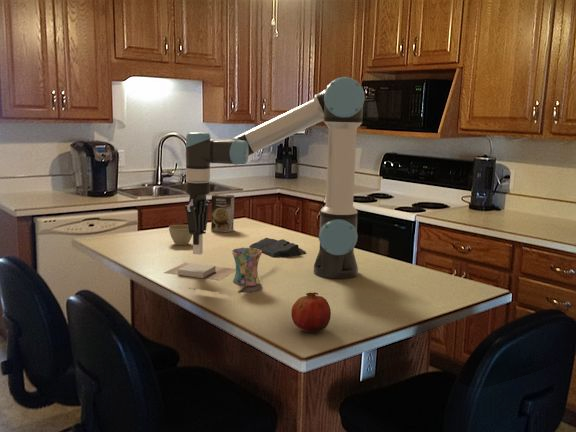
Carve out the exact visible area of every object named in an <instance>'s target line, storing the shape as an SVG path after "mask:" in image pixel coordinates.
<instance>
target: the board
mask: <svg viewBox="0 0 576 432" xmlns="http://www.w3.org/2000/svg"><path fill="white" fill-rule="evenodd" d="M190 263H191V262H182V263H181V264H179V265H177V266H175V267H173V268H170V269H169V270H166V271H164V272H163V274H170V275H176V276H178V269H179V268H182V267H184V266H186V265H188V264H190ZM235 272H236V268H230V267H222V266H216V271H215V272H213V273H211V274H209V275H208V276H206V277H204V278H203V279H207V280H215V281H220V280H222V279H224V278H226V277H228V276H229V275H231V274H233V273H235Z"/></svg>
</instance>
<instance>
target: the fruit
mask: <svg viewBox="0 0 576 432" xmlns="http://www.w3.org/2000/svg"><path fill="white" fill-rule="evenodd" d="M331 311H332V310H331V308H330V304H329V302H328V301H327V299H326V298H325V297H323V296H320V295H319V293H318V292H306V293H305V295H304V296H301V297H299V298H298V299H297V300H296V301H295V302H294V304H293V305H292V307H291V319H292V322H293V324H294V325H295V326H296V327H297V328H299V329H300V330H303V331H304V332H306V333H317V332H321V331H323V330H325V329H326V328H327V327H328V325H329V324H330V321H331V317H332V316H331V315H332V312H331Z"/></svg>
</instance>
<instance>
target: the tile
mask: <svg viewBox="0 0 576 432" xmlns="http://www.w3.org/2000/svg"><path fill="white" fill-rule="evenodd" d="M189 263H190V264H188V265H186V266H184V267H182V268H179V269H178V275H179V276H182V277H183V276H185V277H189V278H191V277H192V278H198V279H205V278H204V277H206V276H208V275H209V274H211V273H213V272H215V271H216V267H217V266H216V265H212V264H204V263H197V262H189ZM178 275H177V276H178Z"/></svg>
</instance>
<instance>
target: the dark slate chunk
mask: <svg viewBox="0 0 576 432" xmlns="http://www.w3.org/2000/svg"><path fill="white" fill-rule="evenodd" d="M248 248H255V249H259V250H261V251H262V254H263V255H265V256H268V257H270V258H278V259H280V258H281V259H282V258H290V257H291V258H292V257H298V256H301V255H305V254H306V250H305V249H304V250H303V249H302V248H300V247H299V245H298V244H295V243H294V242H290V241H288V240H286V239H284V238H283V239H279V240H277V239H275V238H269V237H266V238H265V237H264V238H263V239H261V240H258V241H256V242H254V243H252V244H250V245H249V247H248Z"/></svg>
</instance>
